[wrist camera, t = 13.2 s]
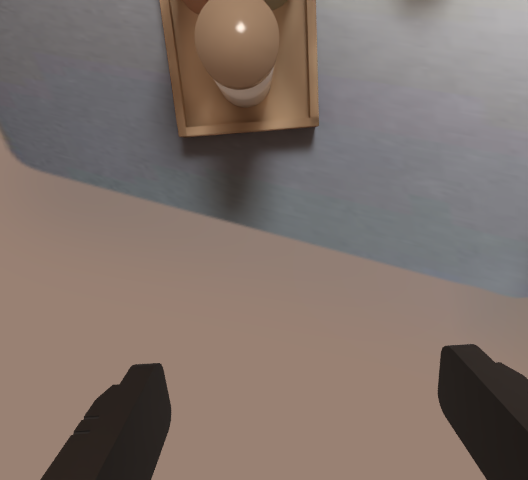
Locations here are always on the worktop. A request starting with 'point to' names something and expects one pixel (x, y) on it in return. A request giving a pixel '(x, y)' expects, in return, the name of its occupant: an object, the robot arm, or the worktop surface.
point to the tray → (282, 86)
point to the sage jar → (274, 3)
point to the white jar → (238, 48)
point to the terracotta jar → (195, 5)
